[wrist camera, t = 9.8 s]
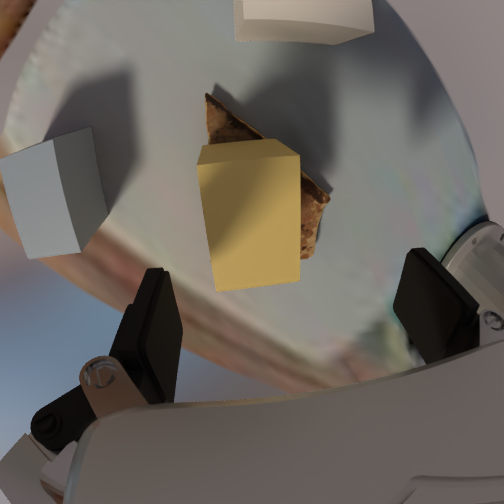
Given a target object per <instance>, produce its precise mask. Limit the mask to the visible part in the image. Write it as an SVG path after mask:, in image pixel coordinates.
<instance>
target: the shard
mask: <svg viewBox="0 0 504 504" xmlns="http://www.w3.org/2000/svg"><path fill="white" fill-rule="evenodd" d="M205 107H206V126H207V131H208V137H209V140H208V144H209V145H211V144H220V143H229V142H239V141H250V140H262V139H266V138H265V137H264V136H263V135H261V134H260V133H259V132H258V131H257V130H255V129H254V128H252V127H251V126H249V125H248V124H247V123H245V122H244V121H242V120H241V119H239V118H238V117H236V116H234V115H233V114H232V113H231V112H230V111H228V110H227V109H226V108H225V106H224V105H223V104H222V103H221V102H220V101H218V100H217V99H215V98H214V97H213V96H211V95H210V94H208V93H205ZM300 188H301V239H300V259H308V258H309V257H311V256H313V255H314V250H315V241H316V235H317V228H318V224H319V221H320V219H321V215H322V213H323V209H324V207H325V205H326V204H327V203H328V202H329V201H330V196H329V195H328V194H327V193H326V192H324V191H323V190H322V189H321V188H319V187H318V186H317V185H316V184H315V183H314V182H313V181H312V179H311V178H309V177H308V176H307V175H306V174H305V173H304V172H303V171H301V170H300Z"/></svg>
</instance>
